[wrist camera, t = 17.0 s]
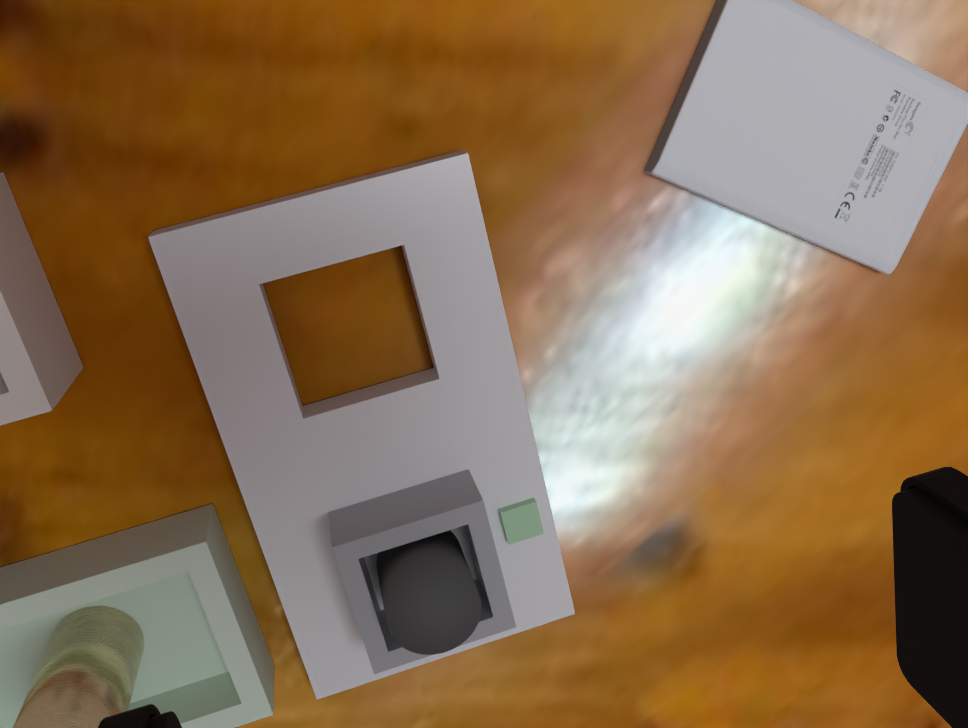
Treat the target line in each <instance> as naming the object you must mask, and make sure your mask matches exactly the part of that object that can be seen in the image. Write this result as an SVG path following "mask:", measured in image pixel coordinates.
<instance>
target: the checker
mask: <svg viewBox="0 0 968 728" xmlns="http://www.w3.org/2000/svg"><path fill="white" fill-rule="evenodd" d="M148 239H149V242H150V244H151V247H152V250H153V253H154V255H155V258H156V261H157V264H158V266H159V269H160V272H161V275H162V277H163V280H164V283H165V286H166V288H167V291H168V294H169V296H170V299H171V302H172V305H173V307H174V310H175V313H176V316H177V318H178V321H179V324H180V327H181V329H182V332H183V335H184V338H185V340H186V343H187V346H188V348H189V351H190V354H191V357H192V359H193V362H194V365H195V368H196V370H197V373H198V376H199V379H200V381H201V384H202V387H203V390H204V392H205V395H206V398H207V400H208V403H209V406H210V409H211V411H212V414H213V417H214V420H215V422H216V425H217V428H218V431H219V433H220V436H221V439H222V442H223V444H224V447H225V450H226V453H227V455H228V458H229V461H230V463H231V466H232V469H233V472H234V474H235V477H236V480H237V483H238V485H239V488H240V491H241V494H242V496H243V499H244V502H245V505H246V507H247V510H248V513H249V515H250V518H251V521H252V524H253V526H254V529H255V532H256V535H257V537H258V540H259V543H260V546H261V548H262V551H263V554H264V557H265V559H266V562H267V565H268V567H269V570H270V573H271V576H272V578H273V581H274V584H275V587H276V589H277V592H278V595H279V598H280V600H281V603H282V606H283V609H284V611H285V614H286V617H287V619H288V622H289V625H290V628H291V630H292V633H293V636H294V639H295V641H296V644H297V647H298V650H299V652H300V655H301V658H302V661H303V663H304V666H305V669H306V671H307V674H308V677H309V680H310V682H311V685H312V688H313V691H314V693H315V696H316V699H317V700H318V699H321V698H324V697H327V696H330V695H333V694H336V693H339V692H342V691H345V690H348V689H351V688H354V687H357V686H360V685H363V684H366V683H369V682H372V681H375V680H378V679H381V678H384V677H387V676H390V675H393V674H396V673H399V672H402V671H405V670H408V669H411V668H414V667H417V666H420V665H423V664H426V663H429V662H432V661H435V660H438V659H441V658H444V657H447V656H450V655H453V654H456V653H459V652H462V651H465V650H468V649H471V648H474V647H477V646H480V645H483V644H486V643H489V642H492V641H495V640H498V639H501V638H504V637H507V636H510V635H513V634H516V633H519V632H522V631H525V630H528V629H531V628H534V627H537V626H540V625H543V624H546V623H549V622H552V621H555V620H558V619H561V618H564V617H567V616H570V615H573V614H575V611H574V607H573V603H572V598H571V594H570V590H569V585H568V581H567V577H566V572H565V568H564V564H563V560H562V555H561V551H560V547H559V542H558V538H557V534H556V529H555V525H554V521H553V517H552V512H551V508H550V504H549V499H548V495H547V491H546V486H545V482H544V478H543V473H542V469H541V465H540V461H539V456H538V452H537V448H536V443H535V439H534V435H533V430H532V426H531V422H530V418H529V413H528V409H527V405H526V400H525V396H524V392H523V387H522V383H521V379H520V375H519V370H518V366H517V362H516V357H515V353H514V349H513V344H512V340H511V336H510V332H509V327H508V323H507V319H506V314H505V310H504V306H503V301H502V297H501V293H500V289H499V284H498V280H497V276H496V271H495V267H494V263H493V258H492V254H491V250H490V246H489V241H488V237H487V233H486V228H485V224H484V220H483V215H482V211H481V207H480V202H479V198H478V194H477V190H476V185H475V181H474V177H473V172H472V168H471V164H470V159H469V155H468V153H466V152H464V151H461V150H460V151H456V152H452V153H449V154H445V155H441V156H437V157H433V158H429V159H426V160H422V161H418V162H414V163H410V164H407V165H403V166H399V167H395V168H391V169H387V170H384V171H380V172H376V173H372V174H368V175H364V176H361V177H357V178H353V179H349V180H345V181H342V182H338V183H334V184H330V185H326V186H322V187H319V188H315V189H311V190H307V191H303V192H299V193H296V194H292V195H288V196H284V197H280V198H277V199H273V200H269V201H265V202H261V203H257V204H254V205H250V206H246V207H242V208H238V209H234V210H231V211H227V212H223V213H219V214H215V215H212V216H208V217H204V218H200V219H196V220H192V221H189V222H185V223H181V224H177V225H173V226H169V227H166V228H162V229H158V230H154V231H153V232H152V233H151V234H150V235H149V236H148ZM398 246H402V250H403V254H404V257H405V261H406V265H407V269H408V272H409V276H410V280H411V284H412V287H413V291H414V295H415V299H416V302H417V306H418V310H419V314H420V317H421V321H422V325H423V329H424V332H425V336H426V340H427V344H428V347H429V351H430V355H431V359H432V362H433V366H434V368H431V369H428V370H424V371H421V372H417V373H414V374H411V375H407V376H404V377H400V378H397V379H393V380H390V381H387V382H383V383H380V384H376V385H373V386H369V387H366V388H363V389H359V390H356V391H352V392H349V393H345V394H342V395H339V396H335V397H332V398H328V399H325V400H321V401H318V402H315V403H311V404H308V405H304V406H302V403H301V400H300V396H299V393H298V390H297V387H296V384H295V381H294V378H293V375H292V372H291V369H290V366H289V363H288V360H287V357H286V354H285V350H284V347H283V344H282V341H281V338H280V335H279V332H278V329H277V326H276V323H275V320H274V317H273V314H272V311H271V308H270V305H269V301H268V298H267V295H266V292H265V289H264V286H263V283H266V282H270V281H273V280H277V279H281V278H284V277H288V276H292V275H295V274H299V273H303V272H306V271H310V270H314V269H317V268H321V267H325V266H328V265H332V264H335V263H339V262H343V261H346V260H350V259H354V258H357V257H361V256H365V255H368V254H372V253H376V252H379V251H383V250H387V249H390V248H394V247H398ZM448 530H451V531H452V532H453V533H454V535H455V536H456V537H457V539H458V541H459V543H460V545H461V548H462V551H463V553H464V556H465V559H466V561H467V564H468V567H469V569H470V572H471V575H472V577H473V580H474V583H475V585H476V588H477V591H478V593H479V596H480V600H481V616H480V620H479V623H478V625H477V627H476V629H475V630H474V632H473V633H472V635H471V636H470V637H469V638H468V639H467V640H466V641H465V642H463V643H462V644H461V645H459V646H458V647H456V648H454V649H452V650H450V651H447V652H444V653H440V654H434V655H423V654H417V653H414V652H411V651H408V650H406V649H405V648H403V647H402V646H400V645H399V644H398V643H397V642H396V641H395V640H394V639H393V637H392V636H391V634H390V632H389V629H388V626H387V621H386V616H385V610H384V605H383V599H382V594H381V588H380V583H379V577H378V572H377V564H376V563H377V555H378V553H379V552H382V551H385V550H388V549H391V548H395V547H398V546H401V545H404V544H407V543H410V542H414V541H417V540H420V539H423V538H426V537H429V536H433V535H436V534H439V533H442V532H445V531H448Z"/></svg>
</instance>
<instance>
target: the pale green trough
mask: <svg viewBox="0 0 968 728" xmlns="http://www.w3.org/2000/svg"><path fill="white" fill-rule="evenodd" d="M89 606H108V607H113V608H116V609H119V610H121V611H124V612H125V613H127V614H129V615H130V616H131V617H132V618H133V619H134V620H135V621H136V622H137V623H138V624H139V626H140V628H141V629H142V632H143V635H144V650H143V654H142V658H141V662H140V666H139V670H138V674H137V678H136V682H135V686H134V690H133V694H132V697H131V701H130V705H129V709H128V711H129V710H132V709H135V708H139V707H142V706H145V705H149V704H153V705H155V706H156V707H157V708H158V710H159V712H160V714H163V713H166V712H169V711H172V712H174V713H175V714H176V716H177V718H178V719H179V722H180V724H181V726H182V728H235V727H238V726H241V725H244V724H247V723H251V722H254V721H257V720H260V719H263V718H266V717H269V716H272V715H273V712H274V669H275V666H274V663H273V661H272V658H271V655H270V653H269V650H268V647H267V645H266V642H265V639H264V637H263V634H262V632H261V629H260V626H259V624H258V621H257V618H256V616H255V613H254V610H253V608H252V605H251V603H250V600H249V597H248V595H247V592H246V589H245V587H244V584H243V581H242V579H241V576H240V574H239V571H238V568H237V566H236V563H235V560H234V558H233V555H232V552H231V550H230V547H229V545H228V542H227V539H226V537H225V534H224V531H223V529H222V526H221V523H220V521H219V518H218V516H217V513H216V510H215V508H214V505H213V504H209V505H206V506H203V507H199V508H196V509H193V510H190V511H186V512H183V513H180V514H176V515H173V516H170V517H166V518H163V519H160V520H156V521H153V522H150V523H146V524H143V525H140V526H136V527H133V528H130V529H126V530H123V531H120V532H117V533H113V534H110V535H107V536H103V537H100V538H97V539H93V540H90V541H87V542H83V543H80V544H77V545H73V546H70V547H67V548H63V549H60V550H57V551H53V552H50V553H47V554H43V555H40V556H37V557H34V558H30V559H27V560H24V561H20V562H17V563H14V564H10V565H7V566H4V567H0V728H13V726H14V724H15V721H16V719H17V717H18V714H19V712H20V710H21V707H22V705H23V703H24V700H25V698H26V696H27V693H28V691H29V689H30V686H31V684H32V682H33V679H34V677H35V675H36V672H37V670H38V668H39V665H40V663H41V661H42V658H43V656H44V654H45V651H46V649H47V647H48V644H49V642H50V640H51V637H52V635H53V633H54V630H55V628H56V627H57V625H58V624H59V623H60V621H61V620H62V619H64V618H65V617H66V616H67V615H69V614H70V613H72V612H74V611H76V610H78V609H81V608H85V607H89Z"/></svg>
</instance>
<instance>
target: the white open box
mask: <svg viewBox="0 0 968 728" xmlns="http://www.w3.org/2000/svg"><path fill="white" fill-rule="evenodd" d="M82 369H83V364H82V362H81V360H80V357H79V355H78V352H77V350H76V347H75V345H74V342H73V340H72V338H71V335H70V333H69V330H68V328H67V325H66V323H65V321H64V318H63V316H62V313H61V311H60V308H59V306H58V304H57V301H56V299H55V296H54V294H53V291H52V289H51V287H50V284H49V282H48V279H47V277H46V274H45V272H44V270H43V267H42V265H41V262H40V260H39V257H38V255H37V253H36V250H35V248H34V245H33V243H32V240H31V238H30V236H29V233H28V231H27V228H26V226H25V223H24V221H23V219H22V216H21V214H20V211H19V209H18V206H17V204H16V201H15V199H14V197H13V194H12V192H11V189H10V187H9V184H8V182H7V180H6V177H5V175H4V172H1V173H0V425H4V424H7V423H11V422H14V421H18V420H22V419H25V418H29V417H32V416H36V415H39V414H43V413H46V412H50V411H52V410H53V409H54V408H55V406H56V405H57V403H58V402H59V401H60V399H61V398H62V397H63V395H64V394H65V392H66V391H67V390H68V388H69V387H70V385H71V384H72V383H73V381H74V380H75V379H76V377H77V376H78V374H79V373H80V372H81V370H82Z"/></svg>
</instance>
